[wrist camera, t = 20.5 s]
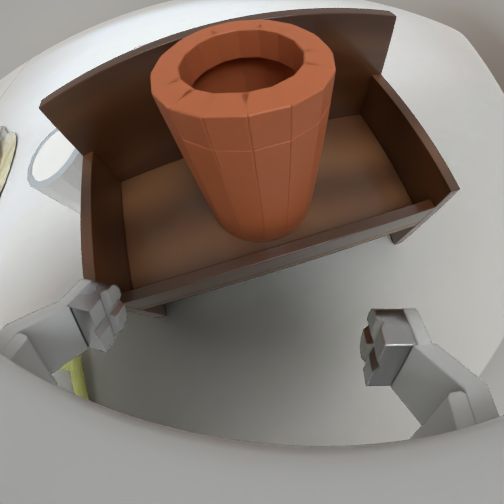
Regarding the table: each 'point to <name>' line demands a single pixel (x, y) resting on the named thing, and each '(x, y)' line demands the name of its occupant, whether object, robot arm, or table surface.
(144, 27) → the table surface
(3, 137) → the pie
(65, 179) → the white cup
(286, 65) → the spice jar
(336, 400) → the table surface
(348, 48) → the box
